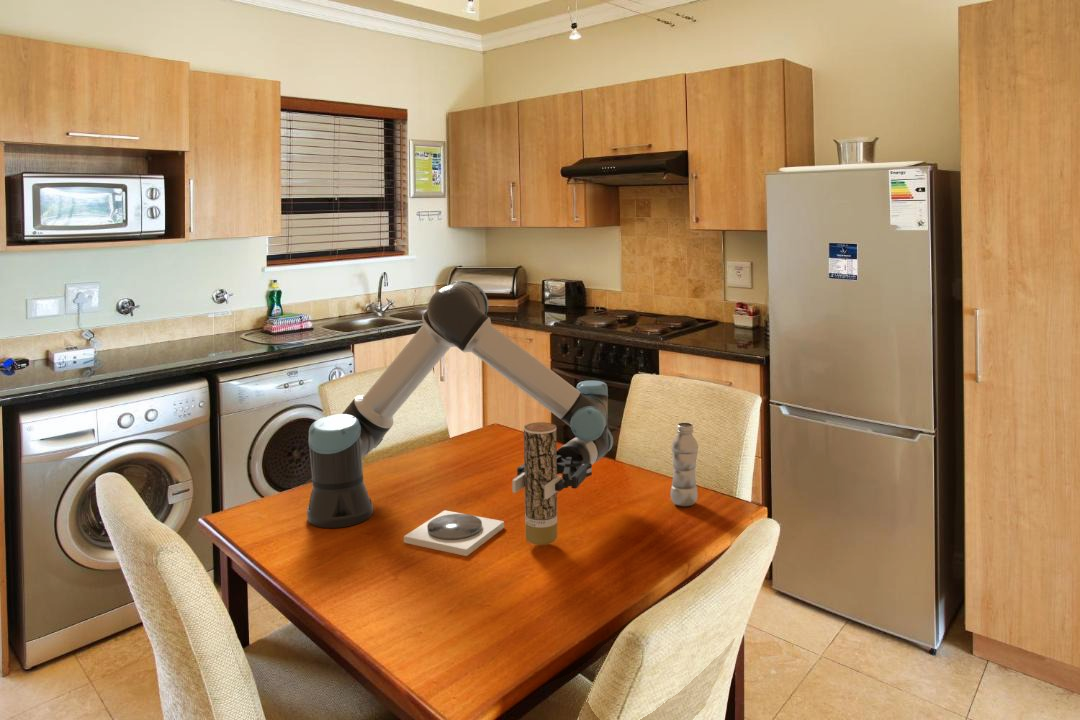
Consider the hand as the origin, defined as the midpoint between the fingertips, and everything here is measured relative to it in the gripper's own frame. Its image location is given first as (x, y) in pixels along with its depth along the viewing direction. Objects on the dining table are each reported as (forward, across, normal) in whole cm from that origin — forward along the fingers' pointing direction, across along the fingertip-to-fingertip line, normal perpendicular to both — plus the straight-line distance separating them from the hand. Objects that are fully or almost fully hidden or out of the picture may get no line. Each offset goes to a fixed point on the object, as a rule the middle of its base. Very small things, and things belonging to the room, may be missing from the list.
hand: (529, 489), depth 156 cm
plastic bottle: (-40, -21, -14) cm, 47 cm away
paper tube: (-5, 0, -13) cm, 14 cm away
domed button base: (-2, +20, -15) cm, 25 cm away
